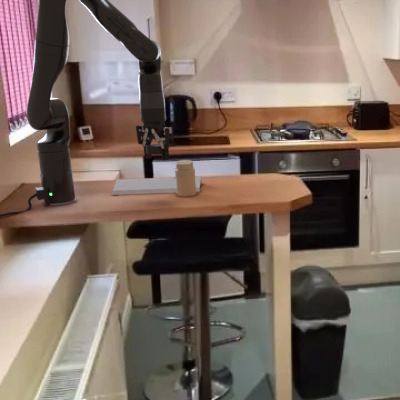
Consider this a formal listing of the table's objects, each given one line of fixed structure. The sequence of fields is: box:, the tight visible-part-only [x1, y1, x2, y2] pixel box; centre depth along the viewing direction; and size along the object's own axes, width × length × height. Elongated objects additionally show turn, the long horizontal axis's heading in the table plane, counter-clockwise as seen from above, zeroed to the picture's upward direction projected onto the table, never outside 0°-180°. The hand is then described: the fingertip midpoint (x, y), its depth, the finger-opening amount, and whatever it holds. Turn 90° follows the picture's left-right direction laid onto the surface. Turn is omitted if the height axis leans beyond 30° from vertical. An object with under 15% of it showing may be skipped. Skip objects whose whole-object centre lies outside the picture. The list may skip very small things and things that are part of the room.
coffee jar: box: [174, 159, 197, 197], centre depth 200 cm, size 6×6×11 cm
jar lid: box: [146, 143, 162, 156], centre depth 188 cm, size 7×7×2 cm
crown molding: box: [112, 176, 203, 196], centre depth 209 cm, size 29×12×4 cm, turn 97°
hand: (157, 158), depth 189 cm, fingers closed on jar lid, 6 cm apart
